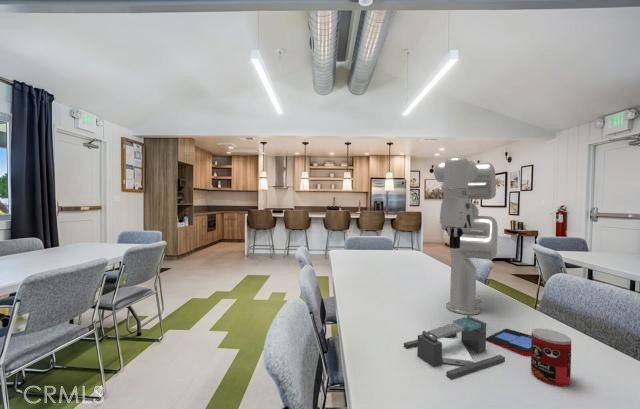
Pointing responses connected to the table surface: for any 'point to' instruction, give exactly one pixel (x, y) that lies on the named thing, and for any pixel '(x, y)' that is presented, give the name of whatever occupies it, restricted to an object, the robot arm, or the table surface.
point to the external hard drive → (455, 352)
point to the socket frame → (470, 339)
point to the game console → (512, 341)
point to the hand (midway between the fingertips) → (454, 247)
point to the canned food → (551, 356)
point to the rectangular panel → (452, 328)
